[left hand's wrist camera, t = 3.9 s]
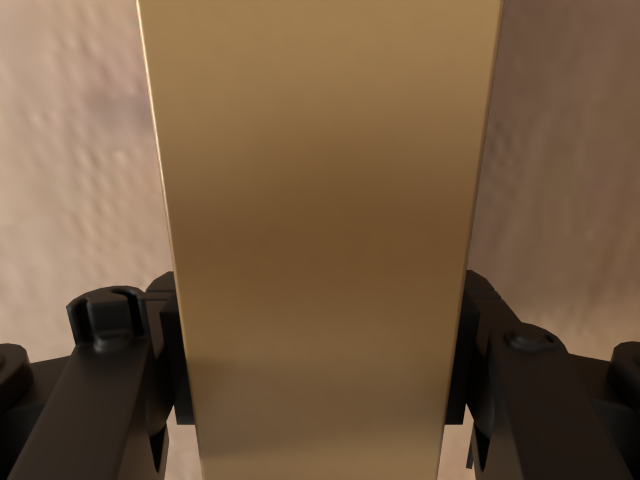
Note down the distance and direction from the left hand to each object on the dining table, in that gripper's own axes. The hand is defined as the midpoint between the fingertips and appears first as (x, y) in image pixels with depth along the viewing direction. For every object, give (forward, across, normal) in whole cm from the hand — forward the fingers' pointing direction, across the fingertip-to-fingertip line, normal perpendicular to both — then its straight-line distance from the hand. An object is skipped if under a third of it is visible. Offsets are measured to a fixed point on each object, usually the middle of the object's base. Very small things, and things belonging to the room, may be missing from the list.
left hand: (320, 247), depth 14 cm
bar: (+1, 0, -8) cm, 8 cm away
